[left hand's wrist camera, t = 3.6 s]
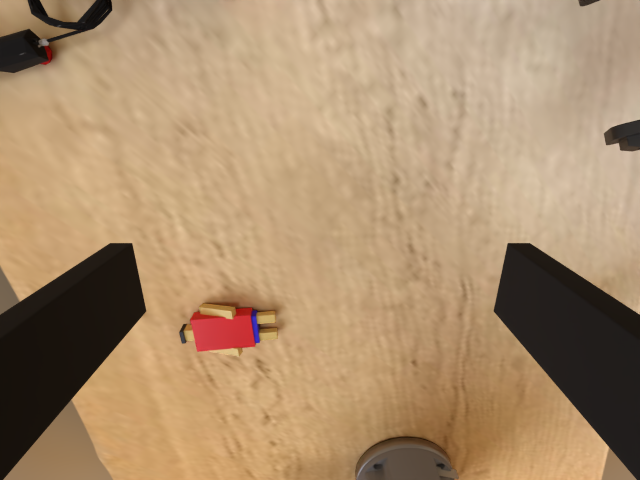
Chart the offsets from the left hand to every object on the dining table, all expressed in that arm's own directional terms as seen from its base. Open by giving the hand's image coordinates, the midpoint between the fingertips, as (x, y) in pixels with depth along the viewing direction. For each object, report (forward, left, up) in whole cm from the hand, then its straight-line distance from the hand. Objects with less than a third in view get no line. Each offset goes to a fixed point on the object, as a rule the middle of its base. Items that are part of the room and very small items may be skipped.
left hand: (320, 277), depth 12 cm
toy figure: (-21, +12, -28) cm, 37 cm away
